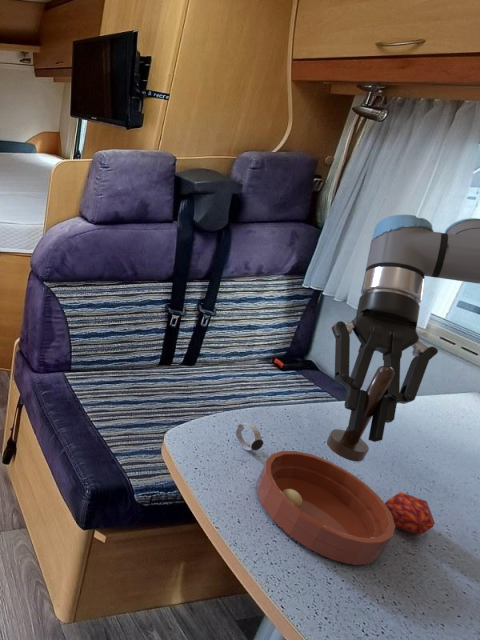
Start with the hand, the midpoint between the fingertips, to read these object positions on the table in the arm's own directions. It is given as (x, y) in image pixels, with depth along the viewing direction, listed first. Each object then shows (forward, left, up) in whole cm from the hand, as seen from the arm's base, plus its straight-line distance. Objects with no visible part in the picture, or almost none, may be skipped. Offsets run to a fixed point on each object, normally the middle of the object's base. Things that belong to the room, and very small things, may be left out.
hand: (364, 435), depth 70 cm
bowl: (0, -1, -19) cm, 19 cm away
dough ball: (+4, 0, -17) cm, 17 cm away
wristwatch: (+11, -12, -19) cm, 25 cm away
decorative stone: (-13, -8, -19) cm, 24 cm away
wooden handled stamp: (0, -4, -6) cm, 7 cm away
